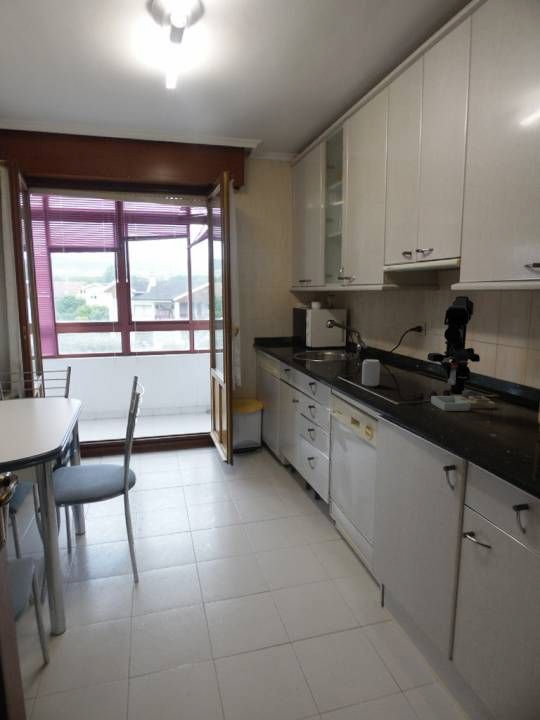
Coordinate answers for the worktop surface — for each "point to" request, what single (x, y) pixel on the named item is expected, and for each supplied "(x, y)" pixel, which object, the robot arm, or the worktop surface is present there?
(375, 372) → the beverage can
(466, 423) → the worktop surface
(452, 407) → the tray
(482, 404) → the block
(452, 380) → the lock pin
